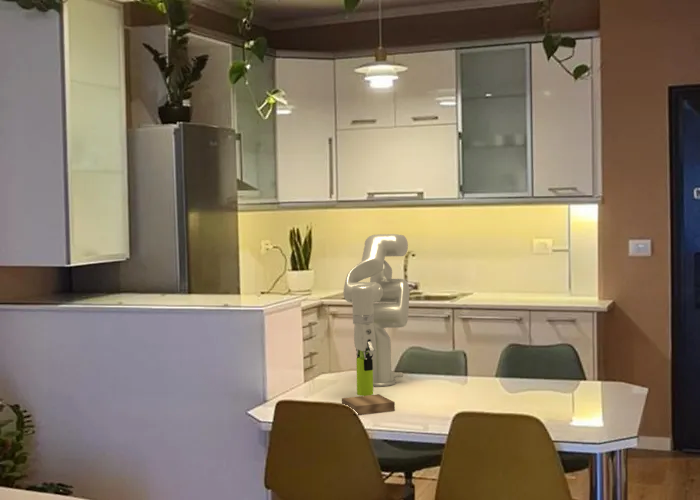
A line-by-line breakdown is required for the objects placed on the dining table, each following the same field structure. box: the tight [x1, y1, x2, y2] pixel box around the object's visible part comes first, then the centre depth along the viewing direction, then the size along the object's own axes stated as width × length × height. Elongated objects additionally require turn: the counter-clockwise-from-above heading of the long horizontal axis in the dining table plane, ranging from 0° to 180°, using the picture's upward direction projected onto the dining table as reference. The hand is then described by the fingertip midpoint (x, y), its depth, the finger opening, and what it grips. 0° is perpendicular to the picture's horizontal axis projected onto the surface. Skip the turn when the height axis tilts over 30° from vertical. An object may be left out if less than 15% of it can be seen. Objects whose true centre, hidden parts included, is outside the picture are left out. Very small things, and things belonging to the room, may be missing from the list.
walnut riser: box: [341, 394, 396, 416], centre depth 309 cm, size 14×14×3 cm
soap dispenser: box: [355, 349, 374, 396], centre depth 324 cm, size 6×7×20 cm
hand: (364, 368), depth 324 cm, fingers closed on soap dispenser, 6 cm apart
